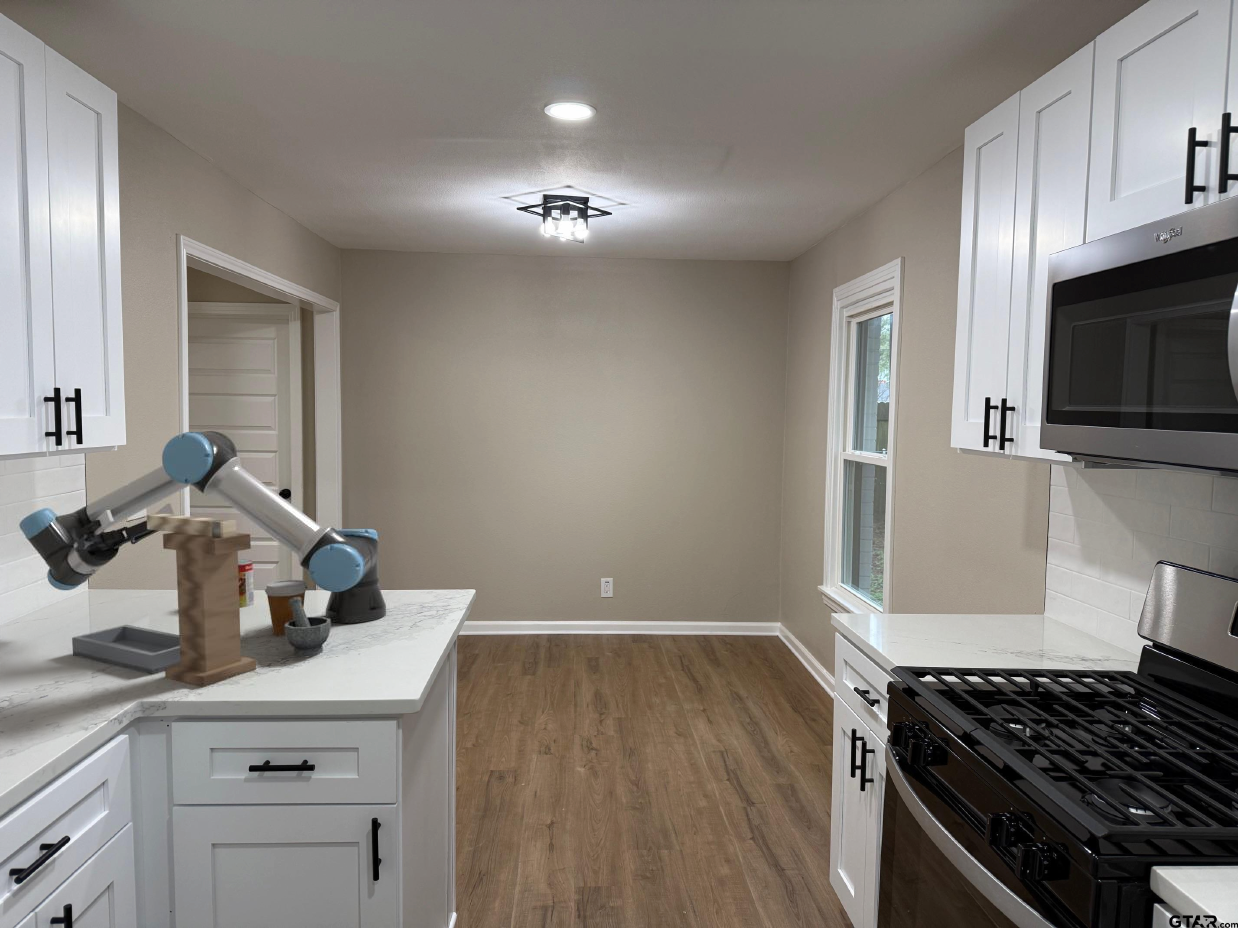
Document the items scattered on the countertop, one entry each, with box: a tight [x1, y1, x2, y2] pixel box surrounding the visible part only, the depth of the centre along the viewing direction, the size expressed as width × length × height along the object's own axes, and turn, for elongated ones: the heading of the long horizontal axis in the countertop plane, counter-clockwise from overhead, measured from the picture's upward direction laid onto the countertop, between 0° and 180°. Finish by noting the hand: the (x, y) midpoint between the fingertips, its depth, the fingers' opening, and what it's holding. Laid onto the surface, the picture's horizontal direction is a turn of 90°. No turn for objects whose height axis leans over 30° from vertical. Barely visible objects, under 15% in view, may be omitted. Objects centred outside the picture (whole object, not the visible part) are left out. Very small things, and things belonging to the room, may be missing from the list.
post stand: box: [162, 532, 257, 688], centre depth 166 cm, size 16×12×29 cm
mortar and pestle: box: [284, 597, 332, 657], centre depth 181 cm, size 11×9×12 cm
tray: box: [71, 624, 180, 675], centre depth 177 cm, size 28×12×4 cm, turn 63°
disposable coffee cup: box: [264, 579, 308, 636], centre depth 197 cm, size 10×10×12 cm
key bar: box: [146, 513, 237, 538], centre depth 167 cm, size 24×4×3 cm, turn 63°
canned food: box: [238, 558, 255, 609], centre depth 224 cm, size 8×8×12 cm
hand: (141, 512), depth 179 cm, fingers open, 13 cm apart
